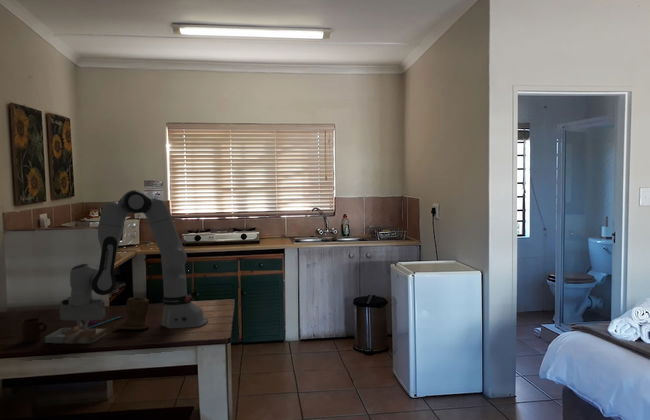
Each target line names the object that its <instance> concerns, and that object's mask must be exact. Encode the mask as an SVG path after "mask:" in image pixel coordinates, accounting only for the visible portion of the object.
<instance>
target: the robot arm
mask: <svg viewBox="0 0 650 420" xmlns="http://www.w3.org/2000/svg"><path fill="white" fill-rule="evenodd" d="M130 214H143V215H144V216H145V217H146V220H147V222H148V225H149V228H150V230H151V232H152V235H153V238H154V240H155V242H156V246H157V248H158V250H159V253H160V257H161V271H162V273H161V274H162V282H163V285H162V287H163V295H162V307H163V314H162V315H163V316H162V320H161V326H162V327H164V328H167V329H170V330H171V329H181V328H182V329H185V328H199V327H203V326H205V325H206V324H208V323H209V318H208V317H205V316H204V313H203V309H202V308H200V307H199V306H198V305H197V304H195V303H194V302H192V295H189V294H188V292H187V291H188V289H187V288H188V287H187V275H186V267H185V265H186V263H187V259H188V255H187V253H186V250H185V248H184V245H183V243H182V240H181V238H180V236H179V234H178V231H177V228H176V226H175V223H174V220H173V218H172V217H173V216H172V215H171V212H170V210H169V208H168V206H167V204H166V203H165V201H164V200H163V199H162V198H160V197H154V198H153V197H152V198H150V197H148V196H147V195H146V194H145V193H144V192H142V191H140V190H129V191H127V192H126V193H124V195H122V197H121V198H120V199H119V200H118V201H109V202H107V203H105V204H104V206H103V208H102V210H101V214H100V216H99V220H98V227H97V240H98V242H99V245H100V257H99V258H100V259H99V266H98V267H95V266H92V265H90V264H88V263H81V264H78V265H75V266H73V267H72V268H71V270H70V273H69V285H70V286H69V287H70V288H71V292H70V296H69V297H67V298H64V299H62V300H60V301H59V303H60V307H59V319H60V320H61V321H76V324H77V325H79V329H80V330H84V329H87V328H88V325H89V321H102V320H104V319H105V318H106V310H105V302H104V301H103V300H101V299H93V292H94V293H95V294H97V295H99V296H107V295H109V294H111V293H112V292H113V291H114V290H115V289H116V286H117V281H116V277H115V273H114V272H115V265H116V263H115V262H116V257H117V251H118V247H119V244H120V241H121V240H122V235H123V232H124V229H125V228H124V227H125V222H126V219H127V217H128V215H130ZM82 321H84V324H83V323H82Z"/></svg>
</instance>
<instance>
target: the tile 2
mask: <svg viewBox="0 0 650 420" xmlns="http://www.w3.org/2000/svg"><path fill="white" fill-rule="evenodd" d="M96 329H97V328H90V329H84V330H83V331H81V332H79V337H91V336H92V335H94V334H96Z"/></svg>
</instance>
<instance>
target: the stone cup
mask: <svg viewBox="0 0 650 420" xmlns="http://www.w3.org/2000/svg"><path fill="white" fill-rule="evenodd" d="M149 301H150V300H149V299H147V298H146V297H129V298H127V300H126V303H125V304H126V305H125V308H126V309H125V310H126V315H127V319H126V320H124V321H123V320H122V321H118V322H116V323H115V324H114V325H113V329H115V330H116V329H117V330H127V331H128V330H144V329H147V328H149V327H150V325H151V324H150V323H149V322H147V321H146V317H147V315H148V311H149V307H150V306H149V305H150V302H149Z"/></svg>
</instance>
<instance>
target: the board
mask: <svg viewBox="0 0 650 420" xmlns="http://www.w3.org/2000/svg"><path fill="white" fill-rule="evenodd" d="M95 329H96V334H94V335H92V336H91V337H79V332H81V331H83V330H80V329H79V330H77V331H75V332H73V333H72V334H70V335H68V336H66V337H64V338H63V342H64V343H63V344H93V343H94V342H97V341H99V340H101V338H104V336H106V335H108V328H95Z"/></svg>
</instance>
